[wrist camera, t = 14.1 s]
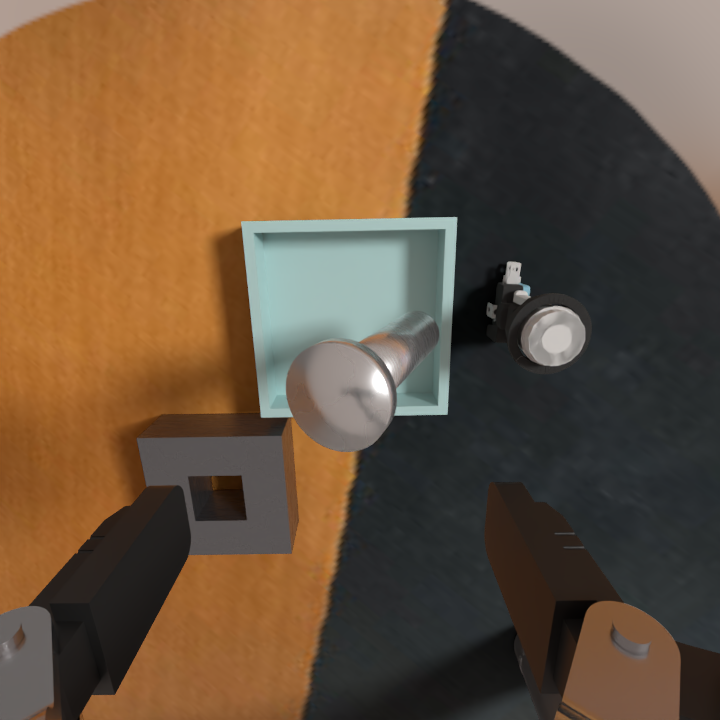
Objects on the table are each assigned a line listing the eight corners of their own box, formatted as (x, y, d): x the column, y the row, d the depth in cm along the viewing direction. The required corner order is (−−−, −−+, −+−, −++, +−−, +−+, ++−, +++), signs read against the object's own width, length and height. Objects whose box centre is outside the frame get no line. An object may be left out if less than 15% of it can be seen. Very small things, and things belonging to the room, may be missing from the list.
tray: (447, 218, 33) (457, 217, 30) (439, 398, 38) (447, 414, 34) (253, 222, 33) (241, 221, 30) (270, 400, 38) (261, 417, 34)
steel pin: (454, 299, 27) (389, 349, 16) (450, 371, 28) (388, 462, 17) (383, 296, 29) (281, 338, 18) (383, 363, 30) (289, 440, 19)
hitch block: (290, 412, 38) (281, 435, 34) (298, 520, 42) (291, 553, 37) (161, 414, 38) (136, 438, 34) (181, 521, 42) (160, 555, 38)
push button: (478, 260, 34) (525, 272, 24) (542, 262, 34) (614, 276, 24) (468, 338, 36) (507, 377, 26) (529, 340, 36) (590, 380, 26)
